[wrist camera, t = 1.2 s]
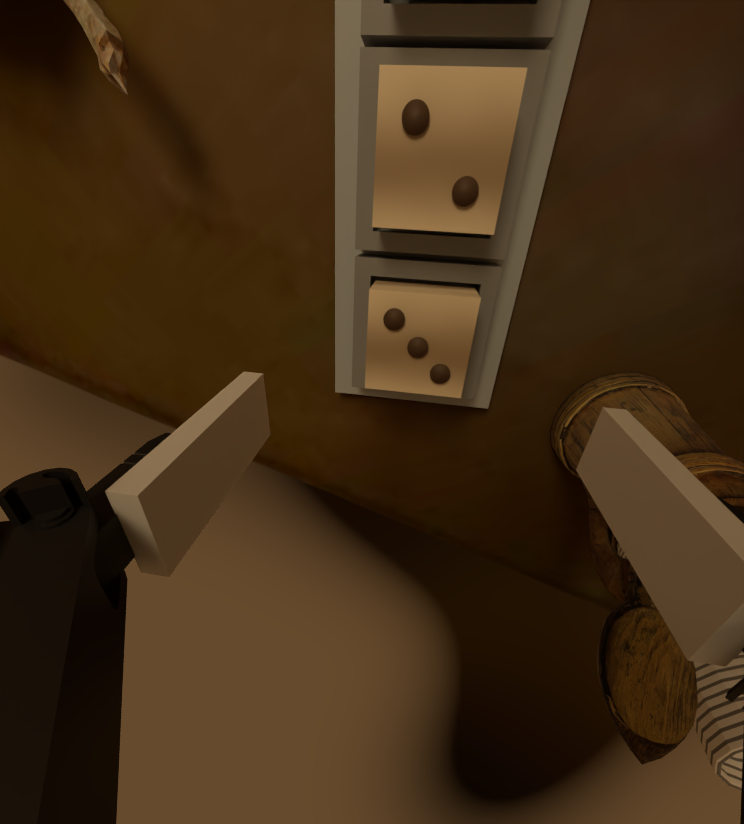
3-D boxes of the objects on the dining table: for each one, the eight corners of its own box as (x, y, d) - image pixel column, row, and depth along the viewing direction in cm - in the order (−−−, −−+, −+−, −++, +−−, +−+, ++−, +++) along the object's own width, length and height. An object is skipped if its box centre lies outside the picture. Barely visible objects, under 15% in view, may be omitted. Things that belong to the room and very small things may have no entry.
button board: (341, -288, 14) (318, -421, 11) (659, -311, 13) (727, -466, 10) (338, 385, 29) (328, 405, 26) (485, 401, 28) (492, 423, 25)
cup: (633, 500, 31) (795, 723, 17) (728, 525, 30) (965, 768, 17) (583, 560, 35) (681, 775, 21) (666, 582, 35) (817, 812, 21)
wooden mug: (493, 476, 31) (558, 733, 16) (610, 351, 25) (921, 581, 9) (574, 517, 32) (710, 795, 17) (707, 407, 26) (1136, 701, 10)
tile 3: (376, 280, 22) (368, 289, 19) (474, 288, 21) (481, 298, 18) (371, 369, 25) (364, 389, 22) (457, 378, 24) (461, 399, 21)
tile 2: (386, 87, 17) (379, 62, 14) (511, 90, 17) (528, 65, 14) (379, 225, 20) (371, 227, 17) (484, 232, 20) (494, 234, 17)
